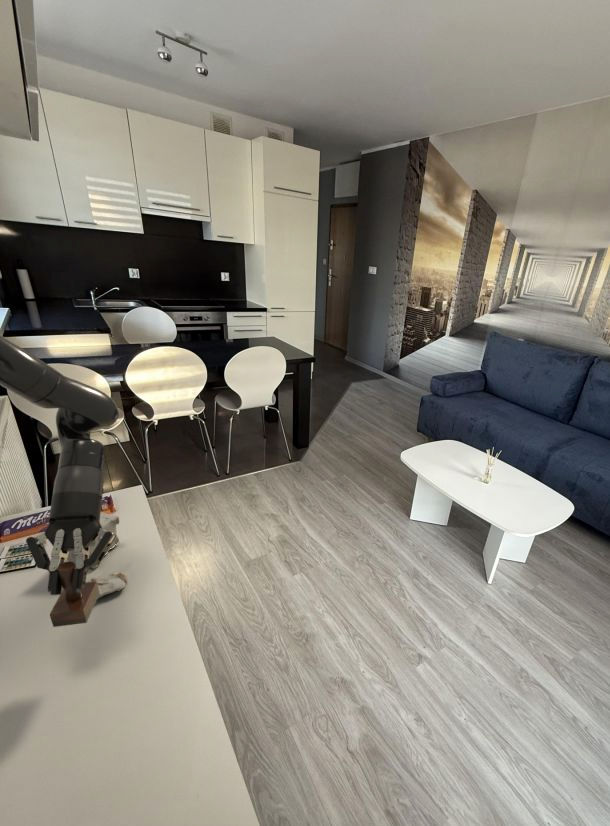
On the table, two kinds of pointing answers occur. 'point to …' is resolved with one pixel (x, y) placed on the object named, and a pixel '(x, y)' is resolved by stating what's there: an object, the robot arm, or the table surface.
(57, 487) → the robot arm
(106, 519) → the incense holder
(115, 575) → the stone
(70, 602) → the stamp
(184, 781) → the table surface
